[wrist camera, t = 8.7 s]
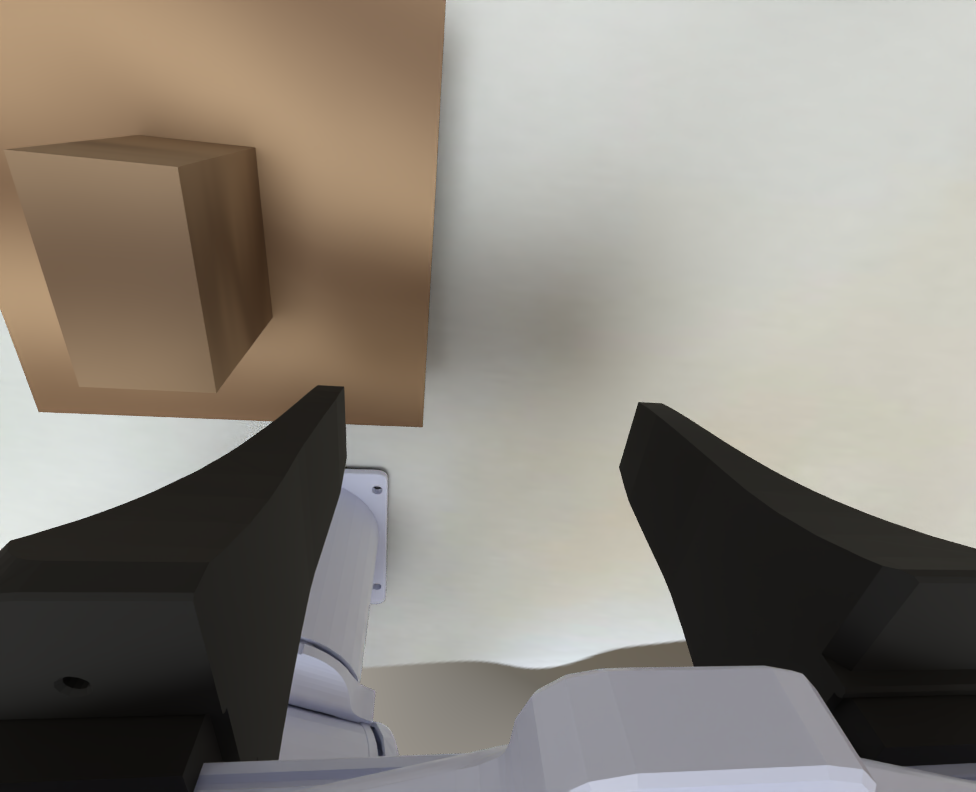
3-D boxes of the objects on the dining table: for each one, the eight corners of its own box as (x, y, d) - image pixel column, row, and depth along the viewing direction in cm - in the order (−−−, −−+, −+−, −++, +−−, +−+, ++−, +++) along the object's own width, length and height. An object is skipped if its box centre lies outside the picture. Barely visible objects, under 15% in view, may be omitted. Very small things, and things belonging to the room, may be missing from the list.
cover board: (422, 418, 20) (419, 521, 15) (50, 403, 18) (-91, 513, 13) (445, -2, 13) (452, -60, 9) (-126, -88, 12) (-519, -222, 7)
